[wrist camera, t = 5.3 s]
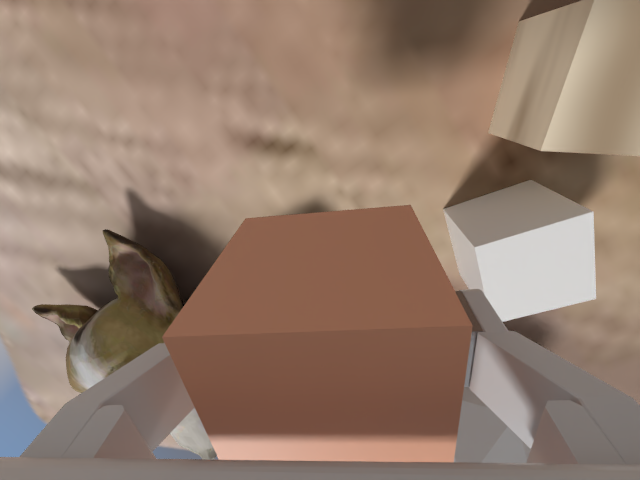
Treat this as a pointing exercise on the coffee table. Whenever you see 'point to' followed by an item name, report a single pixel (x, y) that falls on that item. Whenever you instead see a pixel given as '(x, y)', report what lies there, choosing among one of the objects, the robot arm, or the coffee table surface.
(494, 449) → the die
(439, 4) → the coffee table surface
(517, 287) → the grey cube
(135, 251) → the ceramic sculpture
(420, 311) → the terracotta cube
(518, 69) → the birch cube
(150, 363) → the robot arm
